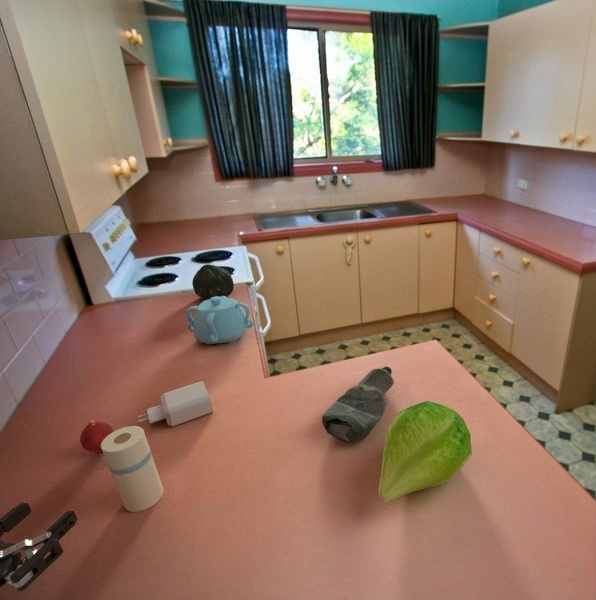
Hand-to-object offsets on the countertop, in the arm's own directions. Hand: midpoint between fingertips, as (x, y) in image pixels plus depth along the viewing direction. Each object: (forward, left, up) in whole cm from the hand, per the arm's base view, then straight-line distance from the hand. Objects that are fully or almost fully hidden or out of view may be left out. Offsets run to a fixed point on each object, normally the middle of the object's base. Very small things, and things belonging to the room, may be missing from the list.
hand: (50, 510), depth 65 cm
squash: (-40, +101, -10) cm, 109 cm away
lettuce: (+53, +25, -10) cm, 60 cm away
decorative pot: (-18, +72, -10) cm, 74 cm away
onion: (-15, +21, -10) cm, 27 cm away
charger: (-7, +34, -10) cm, 36 cm away
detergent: (+37, +43, -10) cm, 58 cm away
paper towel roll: (+3, +12, -10) cm, 16 cm away
